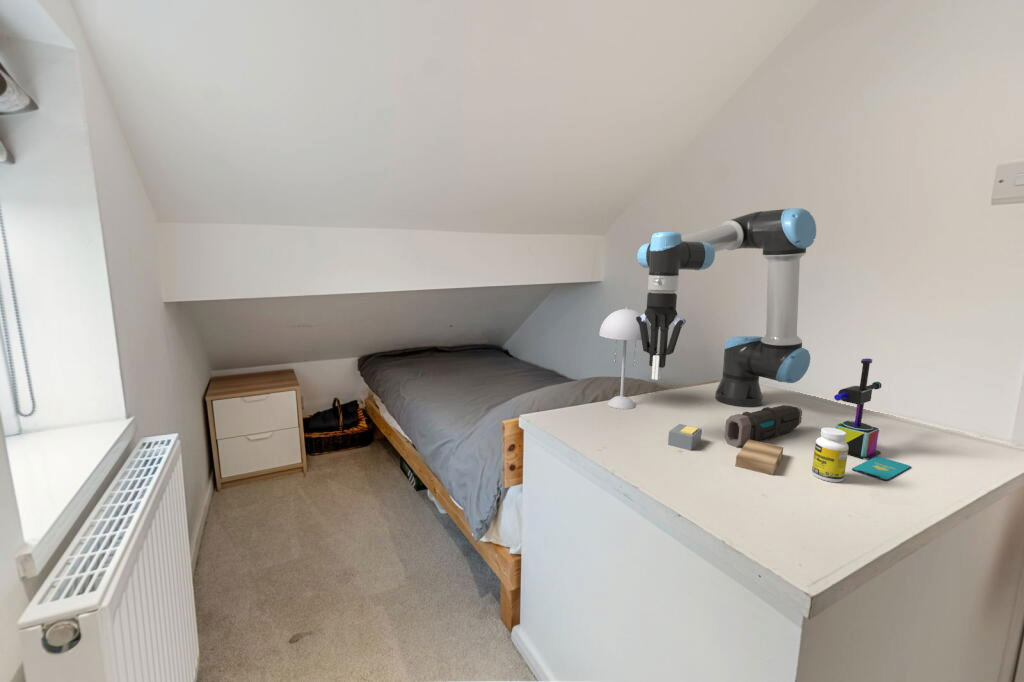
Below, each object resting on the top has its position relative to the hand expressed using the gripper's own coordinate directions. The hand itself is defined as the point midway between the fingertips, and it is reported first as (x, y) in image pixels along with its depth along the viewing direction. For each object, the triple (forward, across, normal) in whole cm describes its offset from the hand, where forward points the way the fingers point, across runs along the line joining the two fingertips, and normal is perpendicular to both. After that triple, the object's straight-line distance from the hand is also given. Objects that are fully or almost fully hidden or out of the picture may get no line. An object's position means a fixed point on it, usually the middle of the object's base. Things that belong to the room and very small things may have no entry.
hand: (656, 378), depth 130 cm
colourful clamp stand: (+17, +47, +28) cm, 57 cm away
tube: (+17, +25, +20) cm, 36 cm away
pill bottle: (+17, +41, 0) cm, 44 cm away
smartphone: (+17, +51, +14) cm, 56 cm away
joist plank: (+16, +27, 0) cm, 32 cm away
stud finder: (+17, +9, 0) cm, 19 cm away
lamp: (+17, -19, +22) cm, 33 cm away
